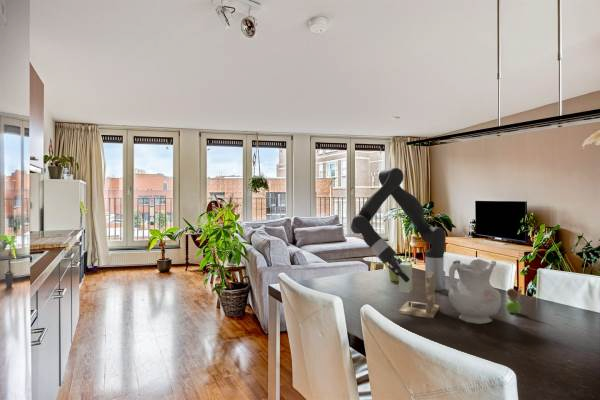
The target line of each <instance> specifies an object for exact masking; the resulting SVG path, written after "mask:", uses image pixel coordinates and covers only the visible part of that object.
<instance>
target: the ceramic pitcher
mask: <svg viewBox="0 0 600 400" xmlns="http://www.w3.org/2000/svg"><path fill="white" fill-rule="evenodd" d="M496 265H497V261H495V260H491V261H490V263H489V262H488V261H487V260H483V259H480V258H476V259H474V260H472V261H471V262H470V263H463V262H461V260H458V259H456V260H454V261H452V263H451V265H450V267H449V269H448V279H449V283H450V289H449V291H448V300H449V303H450V305H451V306H452V307H453V308H454V310H455V311H456V312H457V313H459V314H460V315H459V316H458V317H459V318H458V319H459V320H460V321H461V320H462V321H464V322H466V323H468V324H469V323H471V324H477V325H482V324H487V323H491V322H493V318H490V317H492V316H495V315H496V314H497V313H498V312H499V311H500V308H501V304H502V294H501V293H500V291H498V290H497V289H496V288H495V287H494V286H493V285H491V282H490V281H491V280H490V279H491V275H492V272H493V270H494V268H495V266H496ZM456 271H457V274H458V277H459V279H458V281H457V282H456V279H455V273H456Z"/></svg>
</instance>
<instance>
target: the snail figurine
mask: <svg viewBox="0 0 600 400" xmlns="http://www.w3.org/2000/svg"><path fill="white" fill-rule="evenodd" d="M522 288H523V286H519V289H518V290H516V289H515V288H508V290H507V299H508V301H507V302H506V303H505V308H506V310H507V312H508V313H510V314H517V313H519V312H520V311H521V305H520V302H518V301H519V300H520V298H521V296H522Z"/></svg>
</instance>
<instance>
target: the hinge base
mask: <svg viewBox="0 0 600 400" xmlns="http://www.w3.org/2000/svg"><path fill="white" fill-rule="evenodd" d="M435 292H436V290H435V273H433V272H431V273H430V274H429V275H428V276H427V277H426V286H425V303H424V302H417V301H409V300H407V301H406V302H405V303H404V304H403V305H402V306H401V307H400V309H399V310H398V314H399V315H409V316H415V317H421V318H430V319H434V318H435V316H436V315H437V313H438V311H439V309H440V304H436V303H435V302H436V298H435V297H436V294H435Z"/></svg>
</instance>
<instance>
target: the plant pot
mask: <svg viewBox="0 0 600 400" xmlns="http://www.w3.org/2000/svg"><path fill="white" fill-rule="evenodd" d="M387 268H388V265H387ZM388 273H389V279H390V281H391V282H394V281H395V282H398V283H399V276H397V275H396V274H395V273H394V272H393V271H392V270H391V269H390V268H388Z"/></svg>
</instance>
